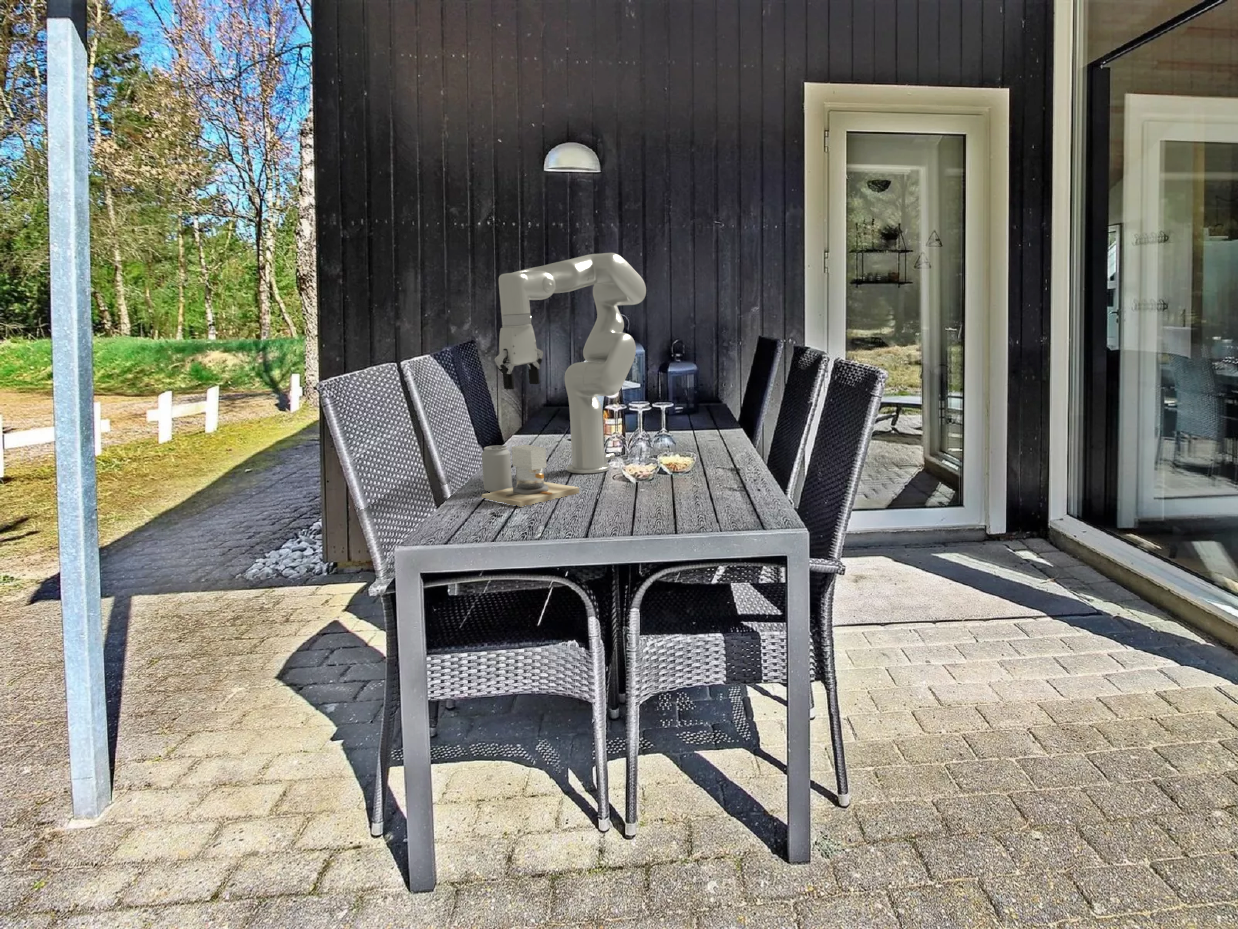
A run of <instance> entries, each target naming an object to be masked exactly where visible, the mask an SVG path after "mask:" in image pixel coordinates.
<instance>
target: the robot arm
mask: <svg viewBox="0 0 1238 929" xmlns="http://www.w3.org/2000/svg"><path fill="white" fill-rule="evenodd" d="M590 286H593V287H592V296H593V300H594V304H595V308H596V314H597V315H596V317H597V318H596V320H595V322H594V325H593V327H592V329H591V331H590V333H589V335H588V336H587V339H586V341H585V344H584V347H583V351H582V356H583V359H584V360H585V361H581V362H579V361H578V362H574V363H573V364H571V365H569V366H568V368H566V371H565V373H564V384H565V385H564V386H565V390H566V393H567V397H568V405H569V408H568V409H569V420H570V422H569V424H570V426H569V427H570V442H571V443H570V444H571V445H570V446H571V464H569V465H568V466H567V467H566V471H567V472H569V473H572V474H598V473H603V472H607V471H609V470H611V469H610V468H611V466H610V464H608V461H610V460H614V459H616V455H615V453H614V452H609V453H607V452H605V449H604V448H605V445H604V444H605V442H604V422H603V421H604V420H603V408H602V404H601V401H600V400H599V398H598V397H612V396H615V395H617V394H618V393H619V392H620V390H622V387H623V385H624V383H625V381H626V379H627V377H628V374H629V372H630V370H631V368H632V366H633V363H634V361H635V357H636V354H637V353H636V352H637V347H636V342H635V340H634V338H633V336H632V335H630V334H629V333H626V332H623V331H624V328H625V321H624V319H623V316H622V314H621V312H620V310H619V308H618V306H634V305H638V304H640V303H642V302H643V301H644V300H645V297H646V295H647V287H646V283H645V281H644V278H642V276H641V275H640V274H639V273H638V272H637V271H636V270H635V269H634V268H633V266H632V265H631V264H629V262H628V261H627V260H626V259H624V258H623V257H622V256H621V255H620V254H617V253H615V252H603V253H591V254H586V255H581V256H578V257H574V258H573V257H572V258H571V259H565V260H561V261H556V262H553V263H548V264H544V265H541V266H539V265H538V266H535V267H531V268H524V269H521V270H518V271H517V270H516V271H514V272H507V273H501V274H500V275H499V277H498V289H499V301H500V313H501V325H502V327H501V328H500V331H499V346H498V348H499V354H498V355H497V356H496V357H495V358H494V362H495V364H496V368H497V369H498V370H499V371H500V374H502V380H503V381H502V382H503V389H504V390H514V389H515V381H514V380H515V379H514V373H513V372H512V371H513V370H514V367H515V366H516V367H517V366H522V365H527V366H528V367H529V369H527V370H528V371H527V372H528V382H529V384H530V385H539V384H540V369H541V364H542V361H543V356H544V351H543V350H542V349H539V348H538V347H537V341H536V335H535V330H534V328H533V327H534V326H533V325H532V318H533V317H532V315H531V306H530V301H538V300H539V301H542V300H546V299H549V298H550V297H551V296H553V294H560V293H562V294H563V293H569V292H573V291H576V290H579V289H583V288H585V287H590Z"/></svg>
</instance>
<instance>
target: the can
mask: <svg viewBox="0 0 1238 929" xmlns="http://www.w3.org/2000/svg"><path fill="white" fill-rule="evenodd" d="M511 462H512V458H511V451H510V450H509V449H508V446H507V445H489V446H485V447H483V451H482V452H481V465H482V480H483V483H482V484H483V489H484V490H485V491H486V492H487V491H488V492H495V491H499V490H503V489H508V488H512V487H513V479H512V463H511ZM488 492H487V493H488Z"/></svg>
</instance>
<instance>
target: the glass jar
mask: <svg viewBox="0 0 1238 929" xmlns="http://www.w3.org/2000/svg"><path fill="white" fill-rule="evenodd" d="M546 450H547V448H546V447H540V446H536V445H531V444H530V445H529V444H521V445H514V446H511V462H512V463H511V464H512V467H515V476H516V477H515V478H516V486H517V488H521V489H533V488H540V487H543V486H544V482H545V474H544V469H546V468H547V451H546Z"/></svg>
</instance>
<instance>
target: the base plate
mask: <svg viewBox="0 0 1238 929" xmlns="http://www.w3.org/2000/svg"><path fill="white" fill-rule="evenodd" d="M577 493H578V494H580V487H578V486H573V485H566V484H562V483H561V484H560V483H555V482H547V481H544V486H543V487H540V488H533V489H521V488H517V485H516V486H512V488H508V489H503V490H499V491H495V492H490V493H488V492H486V493H482V494H481V499H482V498H486V499H489V500H493V501H497V502H504V503H507V504H510V505H517V506H520V507H522V506H525V505H530V506H533V505H532V504H534V505H536V504H535V503H538V502H542V503H545V501H546V502H549V501H548V500H550V501H553V500H552V499H554V500H556V499H555V498H558V499H561V497H562V498H565V496H566V497H569V496H568V495H570V496H573V495H577ZM538 504H539V503H538ZM522 508H523V507H522Z"/></svg>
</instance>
